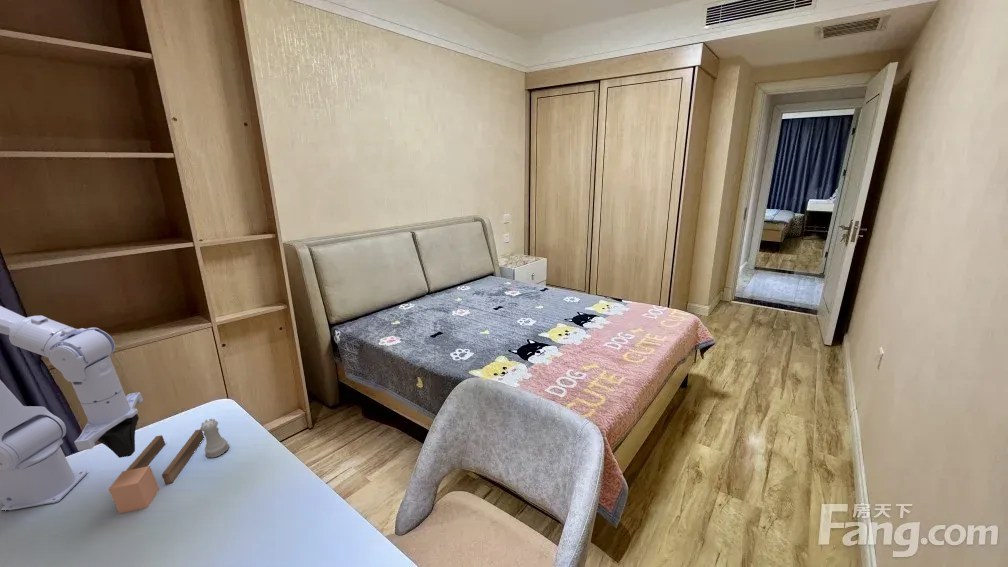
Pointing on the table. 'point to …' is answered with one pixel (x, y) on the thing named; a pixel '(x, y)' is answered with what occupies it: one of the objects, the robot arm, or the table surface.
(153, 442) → the walnut channel
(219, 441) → the rook chess piece
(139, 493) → the terracotta block
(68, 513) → the table surface
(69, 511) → the table surface
